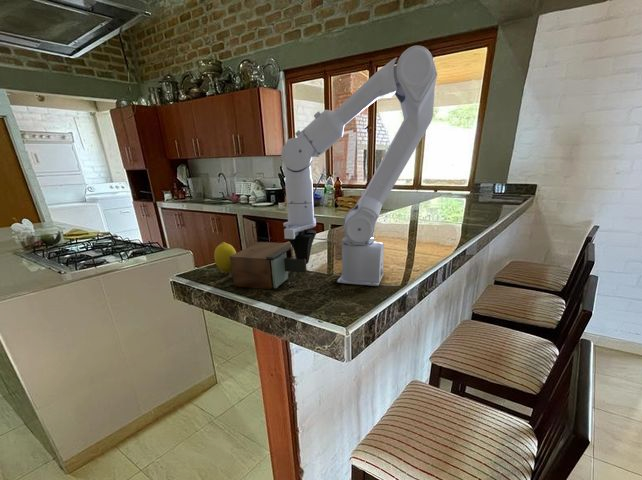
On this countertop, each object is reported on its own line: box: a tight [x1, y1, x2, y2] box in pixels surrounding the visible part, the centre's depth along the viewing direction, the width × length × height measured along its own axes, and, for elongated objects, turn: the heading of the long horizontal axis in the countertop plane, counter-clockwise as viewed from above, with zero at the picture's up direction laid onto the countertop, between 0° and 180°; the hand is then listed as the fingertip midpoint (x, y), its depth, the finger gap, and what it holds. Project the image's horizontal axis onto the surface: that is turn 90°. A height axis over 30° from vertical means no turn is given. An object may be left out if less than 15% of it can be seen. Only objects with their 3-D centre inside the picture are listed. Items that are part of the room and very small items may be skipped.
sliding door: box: [271, 252, 308, 289], centre depth 75 cm, size 6×7×6 cm
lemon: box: [213, 241, 237, 274], centre depth 84 cm, size 6×6×8 cm
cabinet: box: [230, 241, 293, 290], centre depth 79 cm, size 11×14×7 cm
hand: (303, 263), depth 78 cm, fingers closed
